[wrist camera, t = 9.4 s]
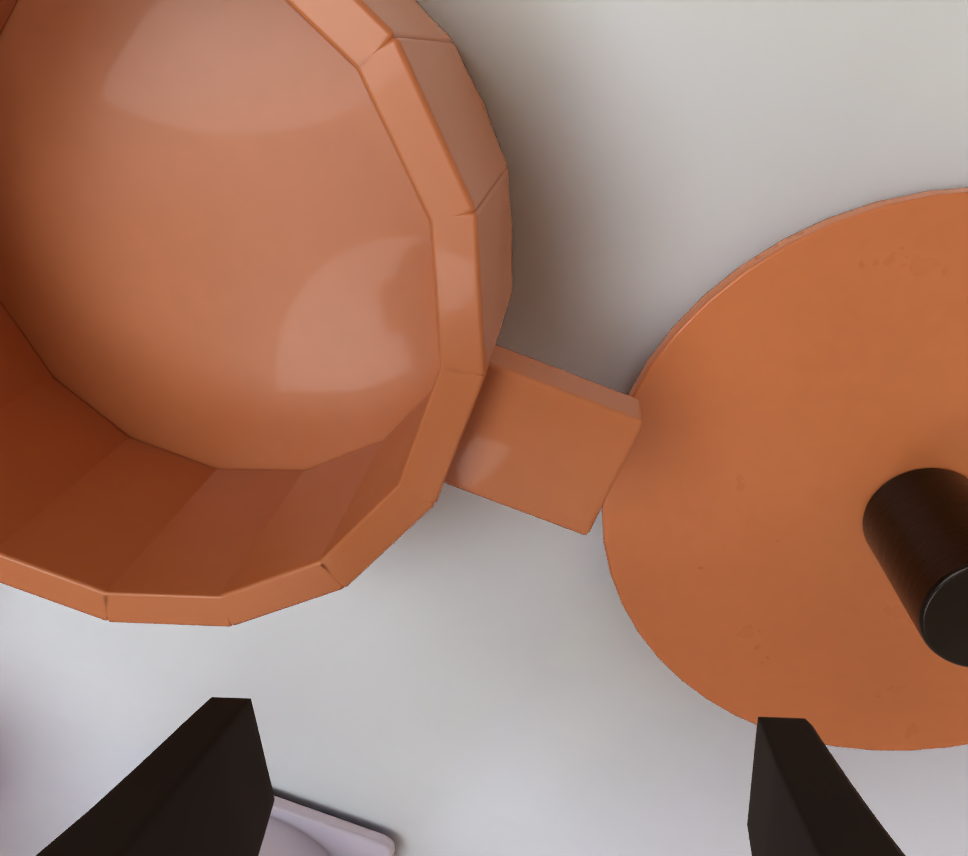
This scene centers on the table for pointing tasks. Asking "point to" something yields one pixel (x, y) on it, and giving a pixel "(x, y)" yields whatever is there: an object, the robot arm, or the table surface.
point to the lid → (813, 482)
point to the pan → (258, 306)
